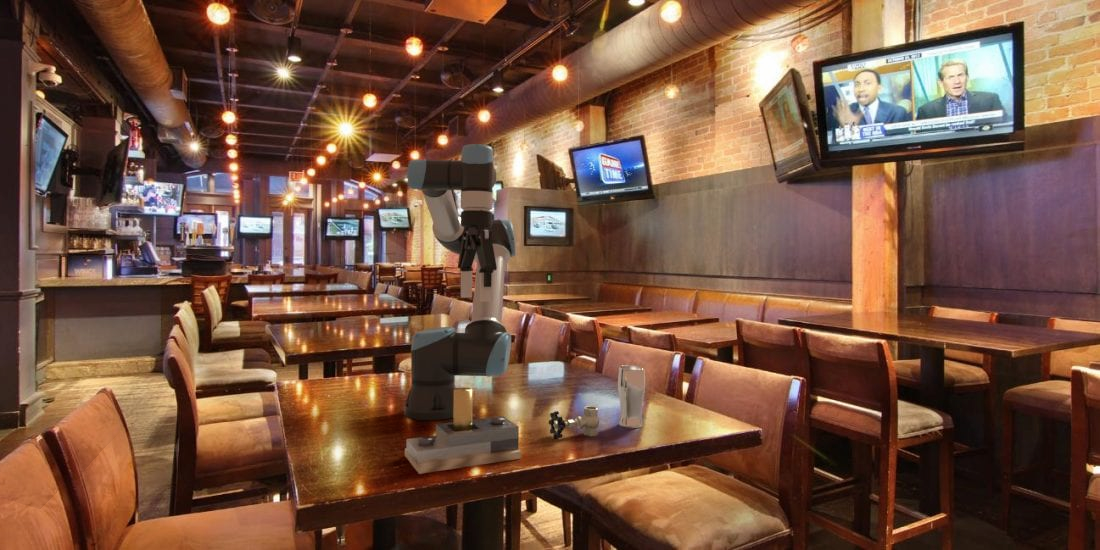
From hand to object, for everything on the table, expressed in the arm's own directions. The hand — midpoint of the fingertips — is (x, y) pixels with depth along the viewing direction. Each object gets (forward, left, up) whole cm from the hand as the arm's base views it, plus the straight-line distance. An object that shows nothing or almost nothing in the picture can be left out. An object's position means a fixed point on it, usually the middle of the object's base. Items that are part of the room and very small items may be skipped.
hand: (475, 299), depth 143 cm
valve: (+23, +10, -33) cm, 41 cm away
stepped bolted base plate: (+6, -15, -31) cm, 35 cm away
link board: (+6, -15, -33) cm, 36 cm away
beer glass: (+32, +25, -33) cm, 52 cm away
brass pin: (+6, -15, -31) cm, 35 cm away
